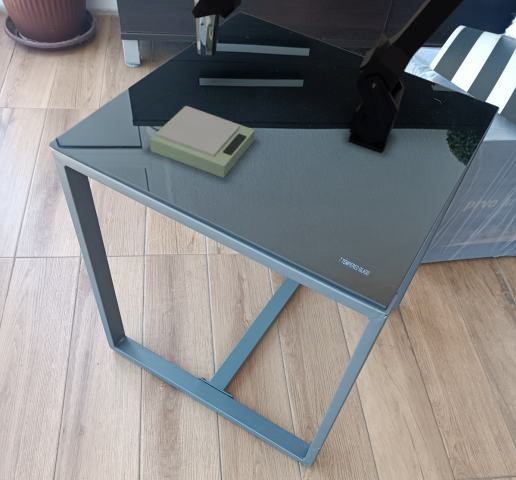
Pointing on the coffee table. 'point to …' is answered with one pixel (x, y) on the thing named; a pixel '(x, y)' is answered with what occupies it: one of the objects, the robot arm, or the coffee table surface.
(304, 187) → the coffee table surface
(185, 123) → the scale
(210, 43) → the milkshake
